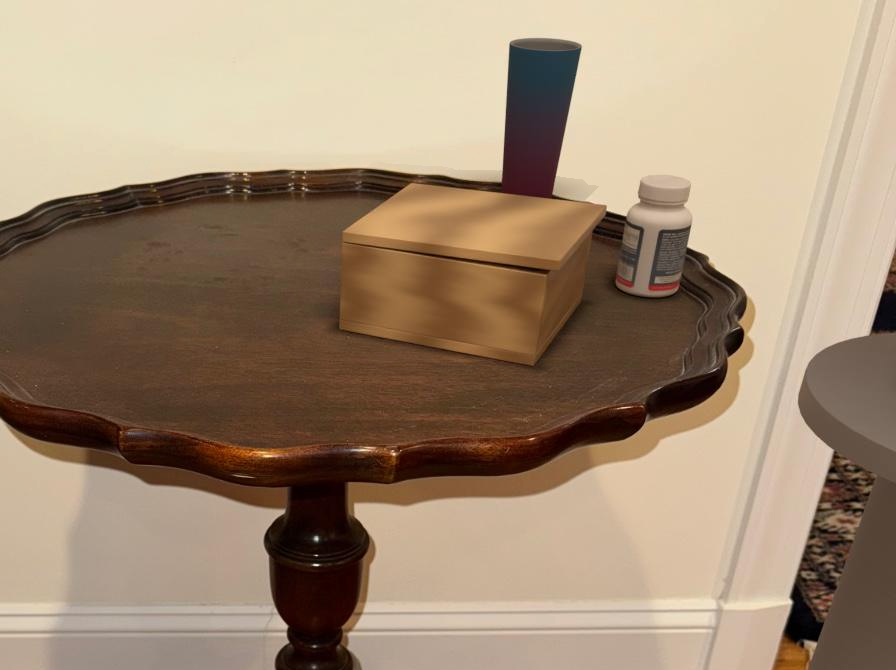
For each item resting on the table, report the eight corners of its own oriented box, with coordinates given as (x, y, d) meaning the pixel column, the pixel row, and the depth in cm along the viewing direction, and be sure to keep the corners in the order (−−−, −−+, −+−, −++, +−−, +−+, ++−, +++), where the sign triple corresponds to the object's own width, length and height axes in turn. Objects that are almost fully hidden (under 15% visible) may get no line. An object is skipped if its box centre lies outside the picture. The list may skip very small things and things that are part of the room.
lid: (605, 215, 89) (607, 205, 88) (558, 271, 78) (560, 260, 78) (410, 192, 95) (411, 182, 94) (341, 242, 84) (342, 231, 83)
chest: (581, 301, 93) (594, 218, 89) (533, 366, 83) (546, 275, 79) (405, 272, 99) (410, 193, 95) (338, 329, 88) (341, 242, 84)
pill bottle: (683, 283, 97) (706, 177, 92) (670, 303, 93) (693, 193, 88) (622, 273, 99) (641, 169, 94) (607, 292, 95) (626, 184, 90)
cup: (486, 210, 114) (503, 47, 105) (498, 192, 119) (515, 35, 110) (553, 217, 112) (577, 52, 103) (562, 199, 117) (586, 40, 109)
